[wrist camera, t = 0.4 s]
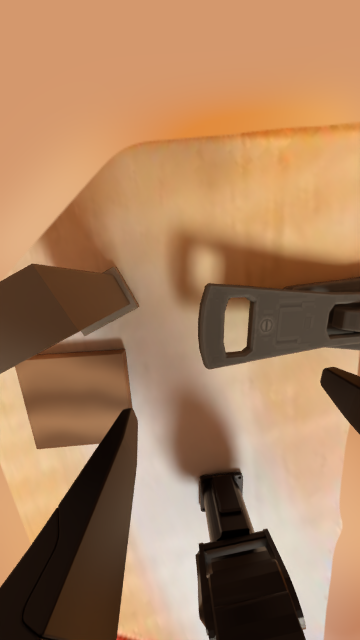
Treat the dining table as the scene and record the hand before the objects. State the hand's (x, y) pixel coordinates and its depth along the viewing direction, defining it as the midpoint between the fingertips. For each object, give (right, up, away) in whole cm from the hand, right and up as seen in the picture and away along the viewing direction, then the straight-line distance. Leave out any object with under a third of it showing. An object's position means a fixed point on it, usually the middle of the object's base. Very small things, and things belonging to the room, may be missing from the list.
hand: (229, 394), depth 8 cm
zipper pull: (+11, +4, +14) cm, 19 cm away
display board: (-15, -6, +15) cm, 22 cm away
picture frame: (-11, +6, +12) cm, 18 cm away
